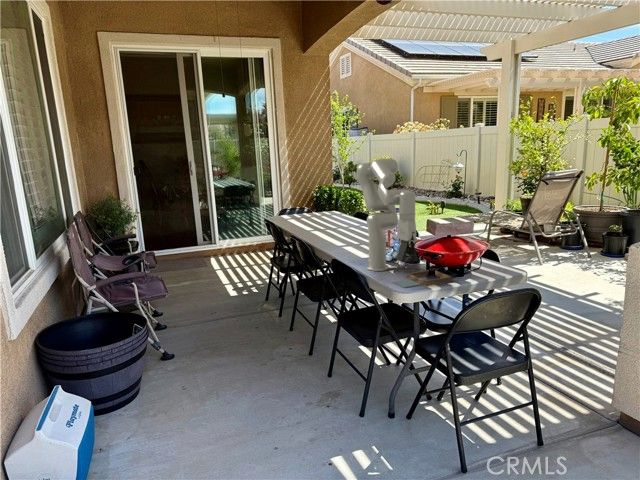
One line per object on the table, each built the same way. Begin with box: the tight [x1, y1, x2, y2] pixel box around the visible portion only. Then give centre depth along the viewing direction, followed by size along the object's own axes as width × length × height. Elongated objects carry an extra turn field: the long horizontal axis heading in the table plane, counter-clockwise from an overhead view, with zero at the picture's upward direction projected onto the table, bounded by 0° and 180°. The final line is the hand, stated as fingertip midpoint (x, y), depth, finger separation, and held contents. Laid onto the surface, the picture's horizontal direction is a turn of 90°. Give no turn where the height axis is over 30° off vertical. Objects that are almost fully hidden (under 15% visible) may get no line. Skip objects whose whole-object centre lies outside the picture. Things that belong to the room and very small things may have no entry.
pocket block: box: [406, 269, 453, 287], centre depth 226 cm, size 16×16×2 cm
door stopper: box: [395, 239, 419, 263], centre depth 217 cm, size 9×6×12 cm, turn 105°
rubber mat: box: [392, 278, 422, 289], centre depth 221 cm, size 10×10×1 cm
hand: (407, 252), depth 217 cm, fingers closed on door stopper, 6 cm apart
